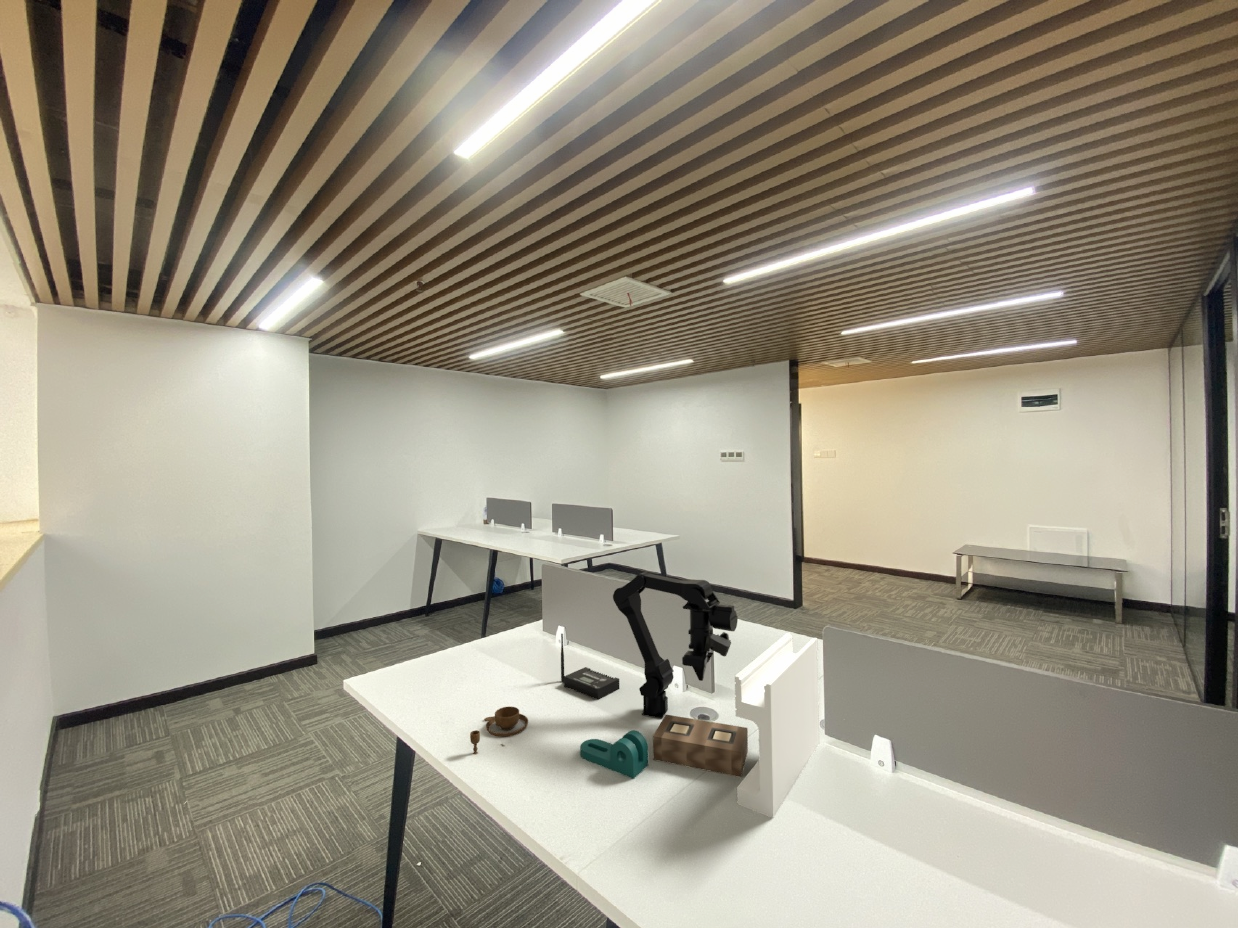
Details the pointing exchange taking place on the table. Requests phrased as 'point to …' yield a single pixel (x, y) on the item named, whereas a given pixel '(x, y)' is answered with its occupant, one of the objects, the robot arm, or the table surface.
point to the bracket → (618, 753)
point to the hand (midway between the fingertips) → (701, 680)
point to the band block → (701, 745)
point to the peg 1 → (680, 729)
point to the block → (779, 720)
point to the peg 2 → (722, 736)
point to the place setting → (501, 724)
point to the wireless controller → (588, 681)
